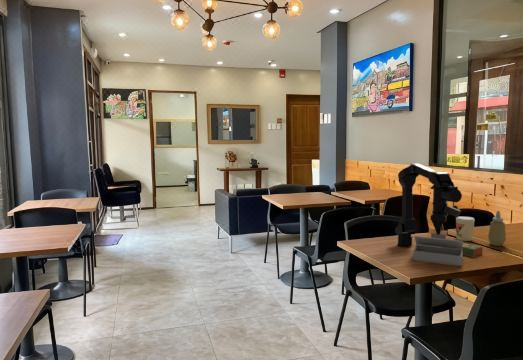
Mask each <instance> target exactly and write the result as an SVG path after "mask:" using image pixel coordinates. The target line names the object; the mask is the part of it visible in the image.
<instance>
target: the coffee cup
mask: <svg viewBox="0 0 523 360" xmlns="http://www.w3.org/2000/svg"><path fill="white" fill-rule="evenodd" d="M475 221H476V220H475V218H474V217H472V216H458V218H457V217H455V228H456V230H455V231H456V240H460V241H463V242H465V241H466V242H471V241H473V237H474V231H475V229H474V228H475Z"/></svg>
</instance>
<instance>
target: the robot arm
mask: <svg viewBox="0 0 523 360" xmlns="http://www.w3.org/2000/svg"><path fill="white" fill-rule="evenodd" d="M419 176H422V177H424V178H426V179H428V182H429V183H431V187H430V190H433V191H432V211H431V212H432V213H431V215H430V219H429V220H430V221H431V222H432V225H433V228H434V230H436V233H437V234H438V235H440V231H441V230H442V227H443V224H444V223H445V222H447V217H448V216H449V215H450V216H453V217H454V218H456V217H457V218H458V217H460V216H459V215H460V214H461V210H460V209H459V207H458V205H455V204H454V205H453V206H452V205H451V206H450V205H448V203H449V202H450V203H458V202H460V201H461V200H462V198H463V196H462V195H463V194H462V192H461V191H460V190H459V189H458V186H455V184H454V182H453V179H452V178H451V175H450V173H449V172H447V171H446V172H445V171H438V170H434V169H432V168H430V167H427V166H426V165H422V164H421V163H411V164H410V165H409V166H407V167H404V168H403V169H402V170H400V171H399V172H398V175H397V177H398V183H399V185H400V186H401V194H402V195H401V204H402V205H401V209H402V210H401V212H402V213H401V216H400V218H399V219H398V225H397V226H396V227H395V229H394V233H395V234H396V235H397V244H396V245H397V246H398V247H405V248H411V247H412V246H413V241H414V240H413V236H412V235H415V234H416V230H417V227H418V224H417V222H418V221H417V218H415V217H414V215H413V187H414V185H415V184H416V182H417V178H418V177H419Z"/></svg>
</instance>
